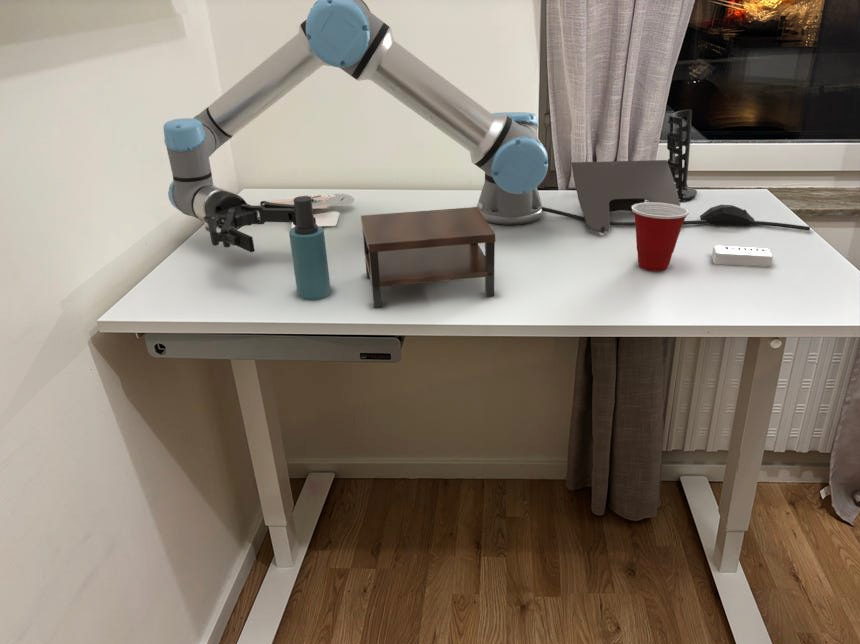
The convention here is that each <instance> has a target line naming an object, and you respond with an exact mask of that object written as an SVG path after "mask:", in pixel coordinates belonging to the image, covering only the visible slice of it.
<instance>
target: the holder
mask: <svg viewBox="0 0 860 644" xmlns="http://www.w3.org/2000/svg"><path fill="white" fill-rule="evenodd" d="M683 118H686V124H685V125H683ZM692 119H693V110H692V109H683V110H678V111H674V112H673V113H671V114H670V115H669V116H668V121H667V123H668V124H669V132H668V133H667V134H666V135H667V137H666V139H667V140H666V143H667V144H666V149H667V150H668V152H669V154H668V155H669V157H668V159H667V162H668V165H669V167H670V170H671V173H672V176H673V179H674V183H675V186H676V190H677V194H678V197H679V201H680V202H687V201H689V200H691V199H693V198H695V197H696V196H697V194H698V191H697V189H695V188H693V187H690V186H688V175H689V162H690V149H691V137H692V135H691V134H692V123H693V122H692V121H693V120H692ZM677 126H678V127H677ZM684 132H685V139H683V133H684ZM683 147H685V149H684V153H683ZM683 161H684V162H683ZM677 175H678V177H677Z"/></svg>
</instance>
